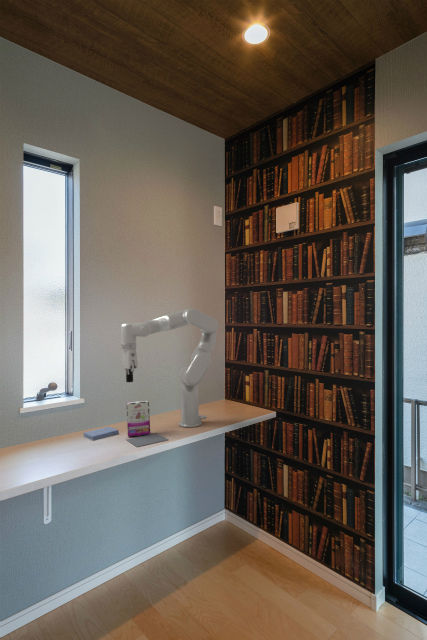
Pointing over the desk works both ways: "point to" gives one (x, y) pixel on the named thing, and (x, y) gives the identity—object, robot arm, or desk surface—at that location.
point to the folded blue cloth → (101, 433)
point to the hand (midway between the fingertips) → (129, 381)
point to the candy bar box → (138, 418)
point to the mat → (147, 440)
